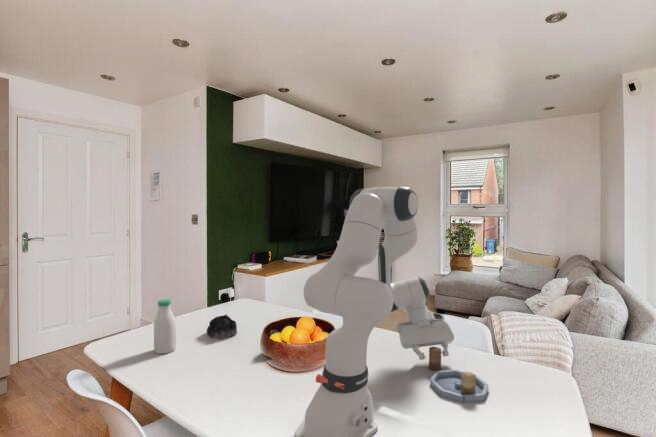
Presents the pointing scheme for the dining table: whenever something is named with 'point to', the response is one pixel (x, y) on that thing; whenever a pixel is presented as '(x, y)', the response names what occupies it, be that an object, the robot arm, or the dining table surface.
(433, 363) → the walnut bead
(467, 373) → the oak bead
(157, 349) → the milk bottle
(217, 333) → the black rock
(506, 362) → the dining table surface
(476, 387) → the ring tray
